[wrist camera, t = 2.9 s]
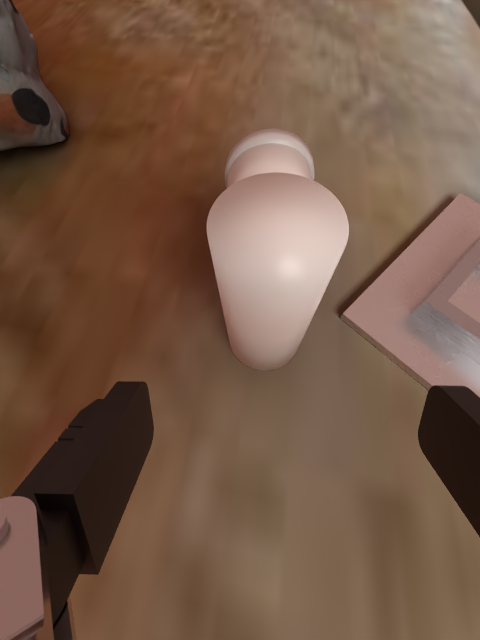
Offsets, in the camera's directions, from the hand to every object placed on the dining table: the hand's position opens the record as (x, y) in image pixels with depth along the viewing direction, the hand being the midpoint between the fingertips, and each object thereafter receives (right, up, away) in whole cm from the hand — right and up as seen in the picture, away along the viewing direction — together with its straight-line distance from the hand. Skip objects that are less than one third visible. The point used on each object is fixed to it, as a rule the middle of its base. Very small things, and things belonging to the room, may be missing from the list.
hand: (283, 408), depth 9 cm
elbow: (+1, +3, +14) cm, 14 cm away
